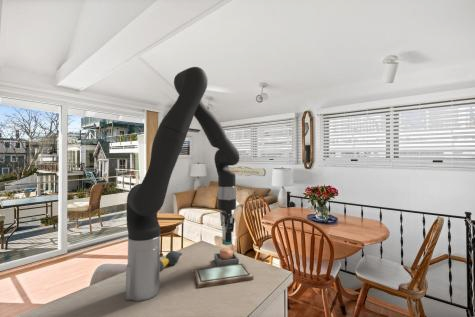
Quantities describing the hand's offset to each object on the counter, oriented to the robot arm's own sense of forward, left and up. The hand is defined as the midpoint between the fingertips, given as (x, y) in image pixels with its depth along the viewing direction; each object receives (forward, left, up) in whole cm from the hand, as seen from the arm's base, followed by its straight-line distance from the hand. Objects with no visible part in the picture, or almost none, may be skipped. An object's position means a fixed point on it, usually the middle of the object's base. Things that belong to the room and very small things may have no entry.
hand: (226, 239), depth 94 cm
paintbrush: (-25, +1, -10) cm, 26 cm away
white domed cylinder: (0, 0, -1) cm, 1 cm away
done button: (0, 0, -7) cm, 7 cm away
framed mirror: (-4, -11, -9) cm, 15 cm away
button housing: (0, 0, -9) cm, 9 cm away
